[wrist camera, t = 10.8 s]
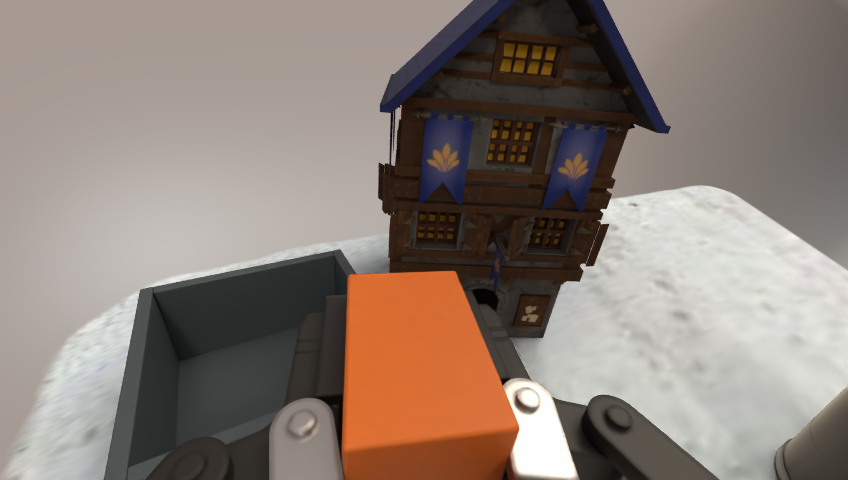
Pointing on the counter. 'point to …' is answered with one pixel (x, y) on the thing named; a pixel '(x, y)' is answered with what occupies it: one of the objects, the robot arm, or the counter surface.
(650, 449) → the robot arm
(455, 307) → the block
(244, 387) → the bin
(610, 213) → the counter surface
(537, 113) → the miniature building
